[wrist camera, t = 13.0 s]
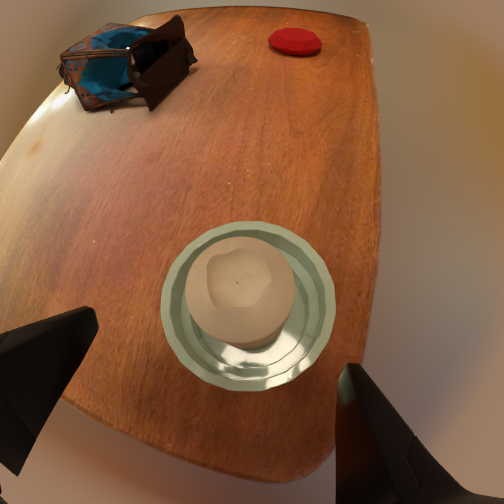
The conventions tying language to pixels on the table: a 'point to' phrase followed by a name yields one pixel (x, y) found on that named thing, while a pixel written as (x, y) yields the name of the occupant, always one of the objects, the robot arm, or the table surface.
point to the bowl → (289, 340)
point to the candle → (241, 292)
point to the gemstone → (295, 41)
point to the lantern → (127, 63)
